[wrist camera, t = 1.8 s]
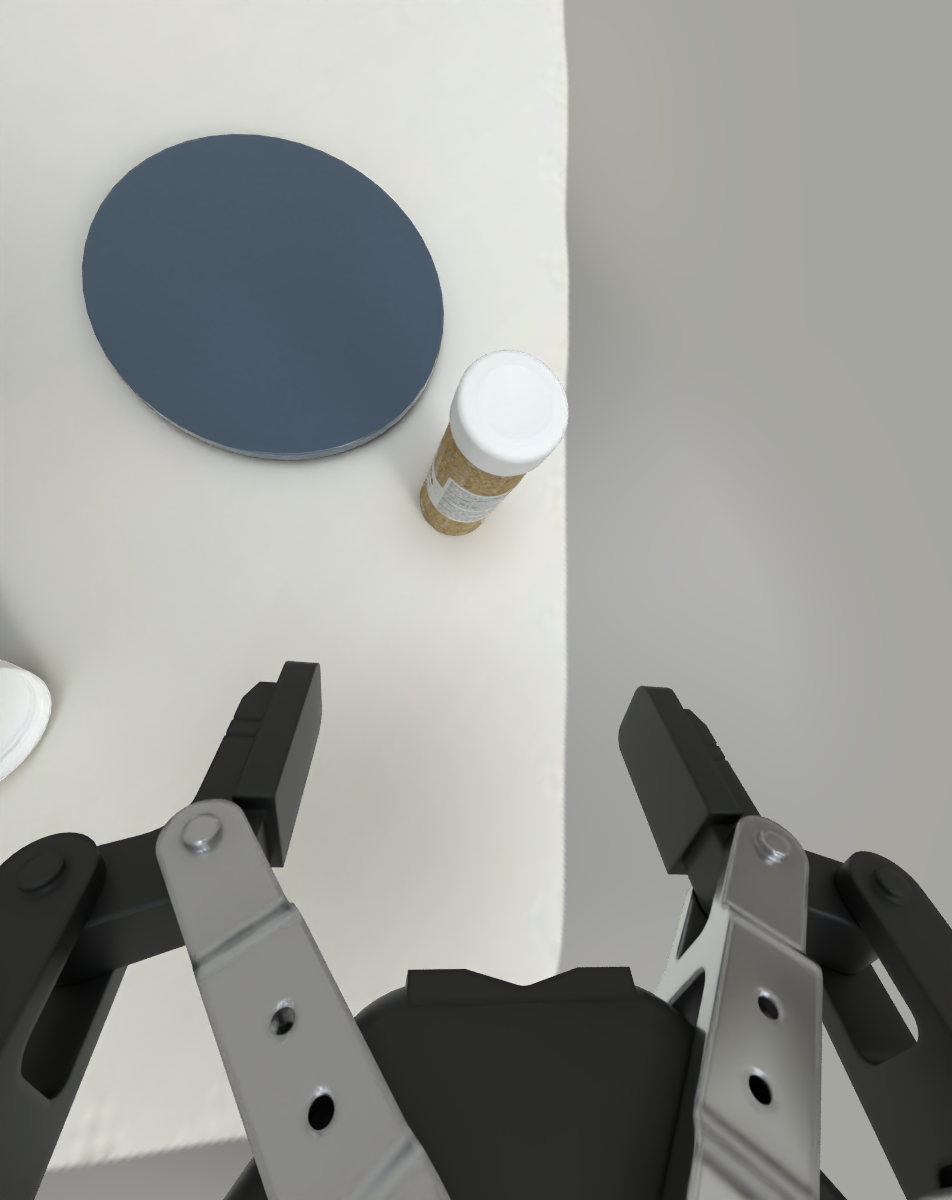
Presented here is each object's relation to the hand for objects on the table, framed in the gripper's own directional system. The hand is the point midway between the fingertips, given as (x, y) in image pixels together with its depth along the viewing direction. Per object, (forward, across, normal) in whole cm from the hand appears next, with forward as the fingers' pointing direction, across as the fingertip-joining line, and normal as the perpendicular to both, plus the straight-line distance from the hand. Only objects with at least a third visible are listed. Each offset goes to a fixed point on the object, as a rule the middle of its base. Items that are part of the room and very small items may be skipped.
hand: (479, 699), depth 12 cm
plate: (+27, +12, -6) cm, 30 cm away
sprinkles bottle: (+21, 0, +3) cm, 21 cm away
